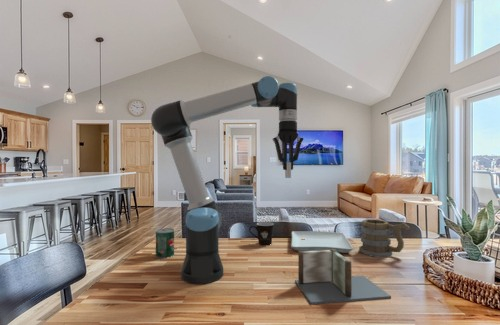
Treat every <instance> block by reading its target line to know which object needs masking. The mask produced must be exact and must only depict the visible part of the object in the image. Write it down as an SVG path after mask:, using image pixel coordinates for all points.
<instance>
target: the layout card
mask: <svg viewBox="0 0 500 325" xmlns="http://www.w3.org/2000/svg"><path fill="white" fill-rule="evenodd" d="M294 283H295V284H296V286H298V288H299V289H300V291H301V292H302V293H303V295H304V297H305V298H306V299H307V301H308V302H309V304H310V305H318V304H319V305H320V304H321V305H322V304H331V303H332V304H333V303H346V302H356V301H357V302H359V301H370V300H371V301H372V300H383V299H384V300H386V299H392V296H391V295H390V294H389V293H387V292H386V291H385V290H383V289H382V288H381V287H379V286H378V284H375V283H374V282H372V281H371V280H370V279H369V278H367V277H366V276H364V275H354V276H352V275H351V286H352V296H351V297H348V296H346V295H345V294H344V293H343V292H342V291H341V290H340V289H339V288H338V287H337V286H336V285H335V284H334V283H333V282H331V281H327V282H312V283H304V284H299V283H298V279H295V280H294Z"/></svg>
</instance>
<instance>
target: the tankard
mask: <svg viewBox="0 0 500 325" xmlns="http://www.w3.org/2000/svg"><path fill="white" fill-rule="evenodd" d="M410 227H411V226H409V225H408V224H406V223H405V222H402V223H399V224H394V225H393V224H390V223H389V222H388V221H386V220H383V219H382V220H381V219H374V218H372V219H370V218H369V219H368V218H367V219H364V220H362V225H360V231H361V232H362V235H361V236H360V242H361V243H362V245H360V246H359V248H358V249H359V251H360V252H361V253H363V255H366V254H367V255H366V256H370V255H371V257H374V256H375V258H388V257H390V256H392V255H393V253H401V252H402V250H403V249H404V246H405V245H404V244H405V242H404V239H403V237H402V231H401V230H402V229H404V230H406V231H408V230H409V229H410ZM392 230H394V235H395V239H396V241H397V246H395V247H394V246H393V245H391V239H390V234H391V231H392Z"/></svg>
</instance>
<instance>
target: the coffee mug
mask: <svg viewBox="0 0 500 325" xmlns="http://www.w3.org/2000/svg"><path fill="white" fill-rule="evenodd" d="M274 224H275V223H274V222H269V221H260V222H257V223H256V226H255V225H251V226H250V227H249V229H248V231H249V233H250V234H251V235H252V236H254V237H255V238H257V240H258V241H257V242H258V245H259V244H260V245H259V246H262V245H268V246H271V245H272V244H273V243H272V241H273V234H274V233H273V232H274V226H275V225H274ZM252 228H255V230H256V231H257V235H255V234H254V233H253V232H252V231H251V229H252ZM270 244H271V245H270Z"/></svg>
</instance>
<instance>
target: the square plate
mask: <svg viewBox="0 0 500 325" xmlns="http://www.w3.org/2000/svg"><path fill="white" fill-rule="evenodd" d="M301 239H305V240H301ZM290 246H291V248H292V250H294V251H297V252H298V251H319V250H330V249H335V250H336V252H338V253H339V254H341V253H342V254H345V253H346V254H347V253H350V252H352V251H353V250H354V249H355V248H354V247H353V246H352V244H351V242H350V241H349V239H348V238H347V237H346V235H345V234H344V233H343V232H333V231H331V232H330V231H317V230H316V231H313V230H312V231H303V230H302V231H300V230H299V231H297V230H296V231H293V230H292V231H291V241H290Z"/></svg>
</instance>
